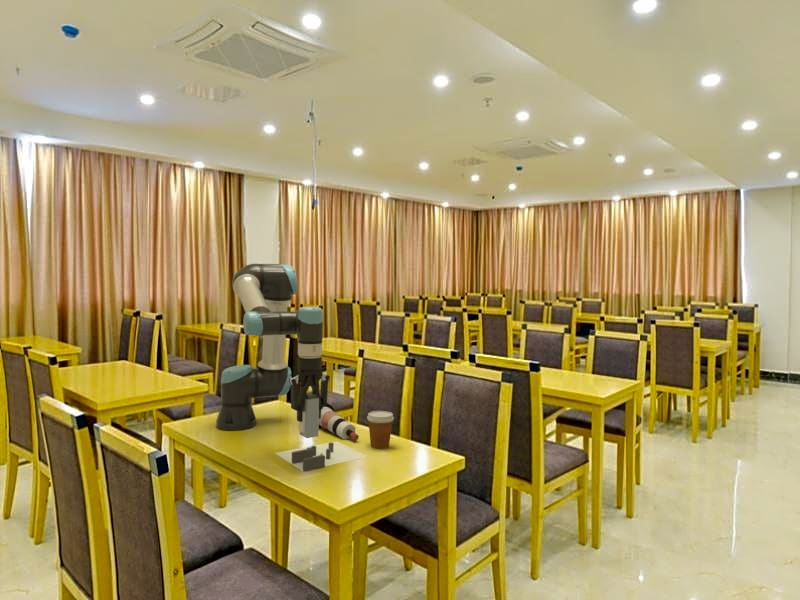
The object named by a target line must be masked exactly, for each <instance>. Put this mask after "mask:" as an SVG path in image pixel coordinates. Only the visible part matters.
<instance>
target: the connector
mask: <svg viewBox="0 0 800 600" xmlns="http://www.w3.org/2000/svg"><path fill="white" fill-rule="evenodd" d="M303 411H305V432H304V433H303V432H301V431H299V430H298V432H299V433H298V434H299V435H300V436H301V437H304V438H306V439H310V438H315V437H319V430H318V424H319V398H317V397H316V394H314V393H313V392H310V391H309V392H308V391H307V394H306V399H305V404H304V409H303Z"/></svg>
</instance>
